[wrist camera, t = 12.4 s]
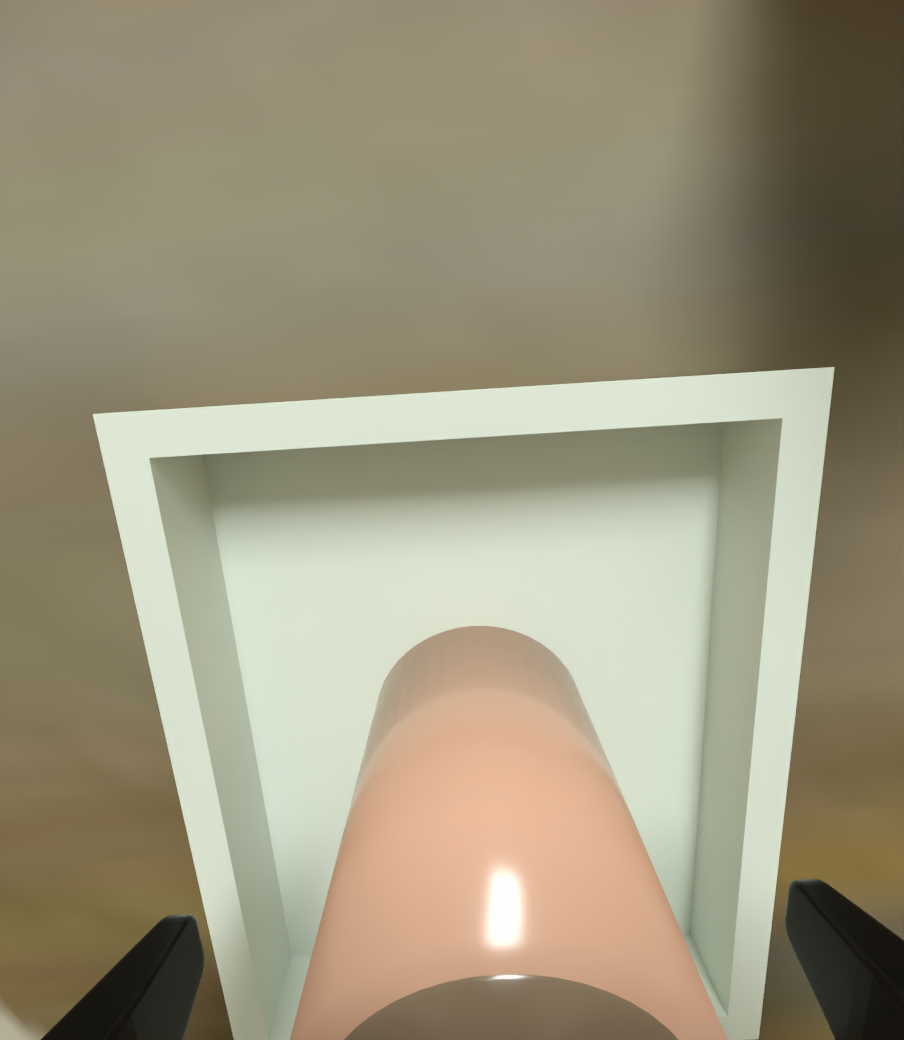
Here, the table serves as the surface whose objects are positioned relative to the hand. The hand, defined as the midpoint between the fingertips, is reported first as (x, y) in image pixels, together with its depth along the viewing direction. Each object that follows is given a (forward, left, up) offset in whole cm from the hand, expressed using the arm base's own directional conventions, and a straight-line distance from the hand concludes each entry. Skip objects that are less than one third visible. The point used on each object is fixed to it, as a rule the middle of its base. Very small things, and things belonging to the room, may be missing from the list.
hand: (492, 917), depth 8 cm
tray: (0, 0, -5) cm, 5 cm away
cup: (0, 0, -5) cm, 5 cm away
